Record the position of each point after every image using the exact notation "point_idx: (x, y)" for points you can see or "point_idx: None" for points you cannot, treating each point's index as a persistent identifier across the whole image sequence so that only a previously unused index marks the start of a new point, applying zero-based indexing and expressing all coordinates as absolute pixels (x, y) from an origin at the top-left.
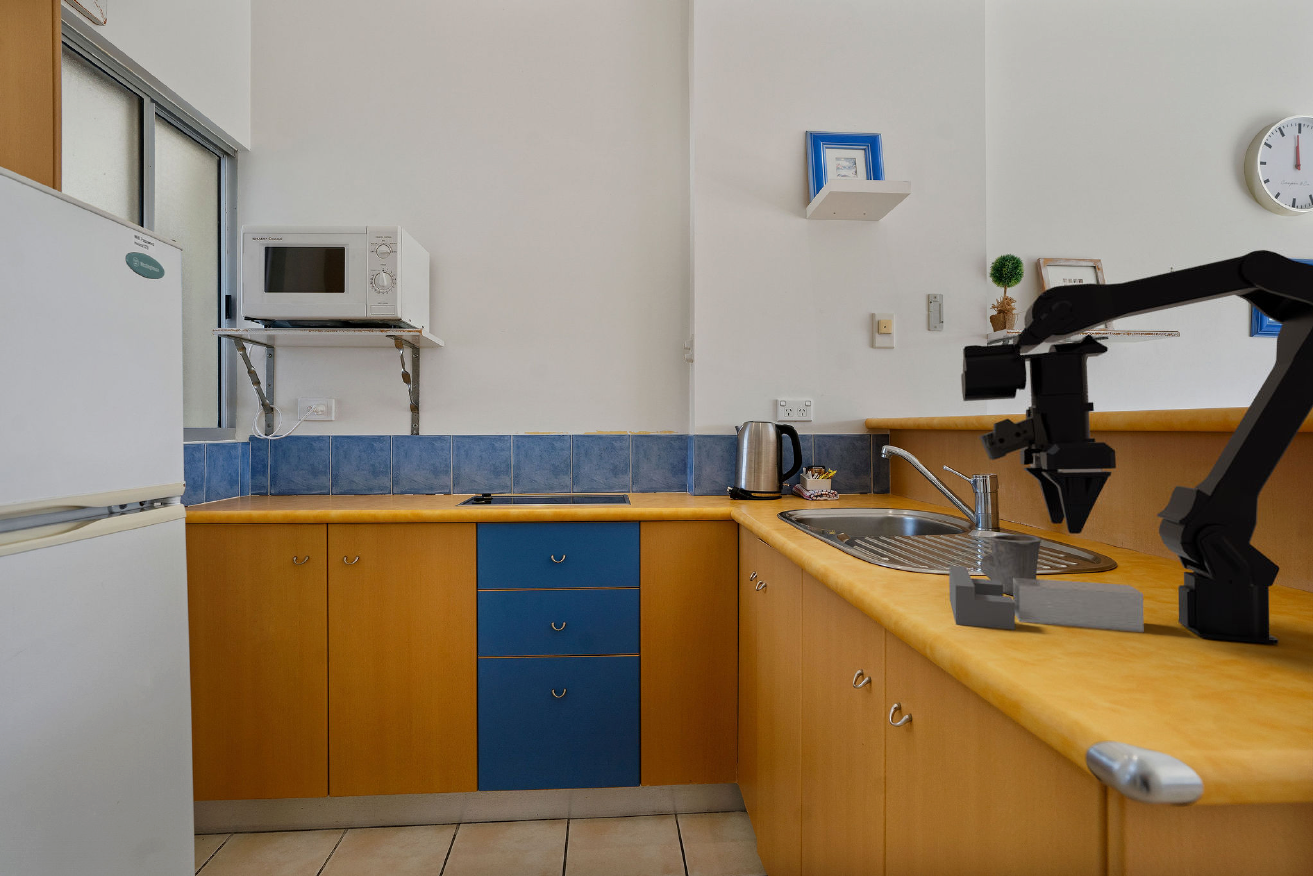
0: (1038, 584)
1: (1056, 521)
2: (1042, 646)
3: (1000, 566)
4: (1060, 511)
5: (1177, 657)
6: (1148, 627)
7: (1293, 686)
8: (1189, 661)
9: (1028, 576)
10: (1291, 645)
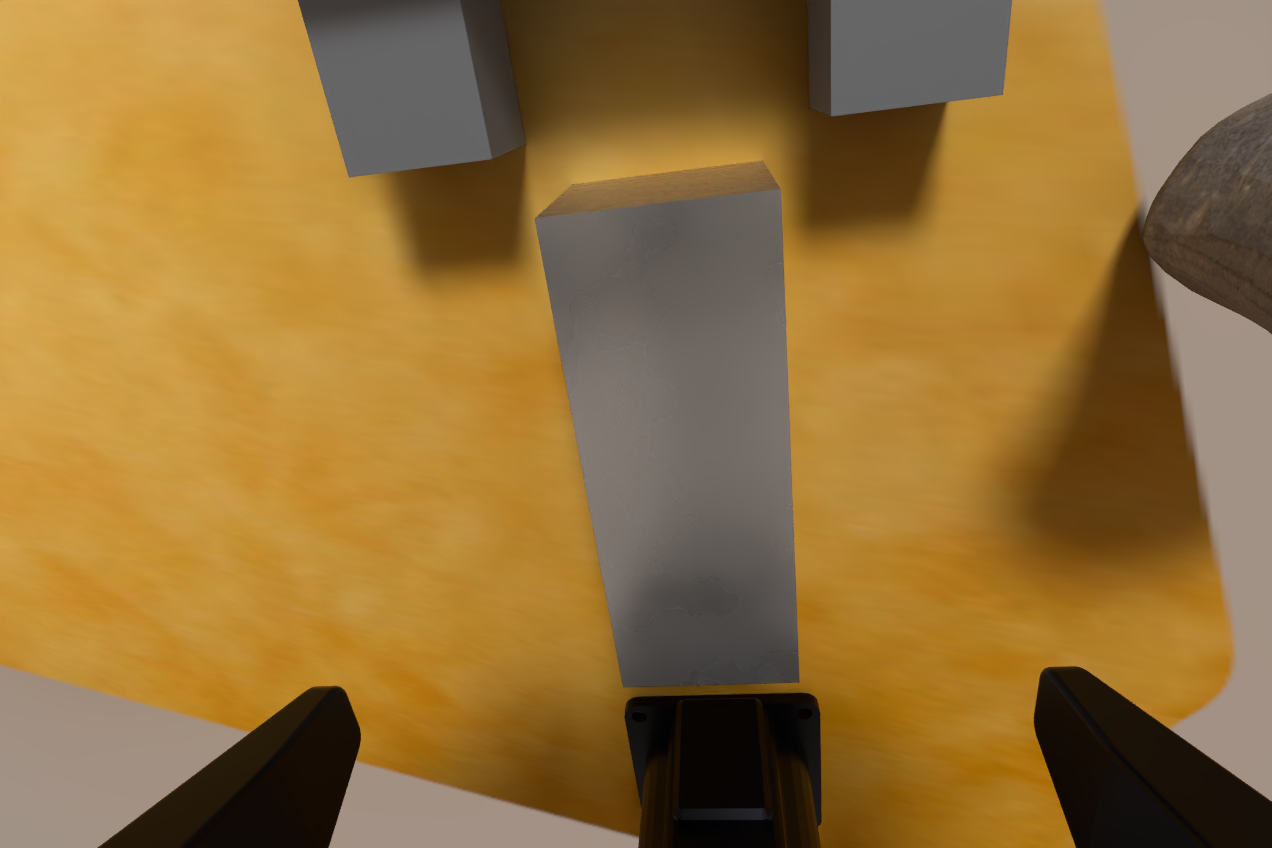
0: (617, 323)
1: (1042, 708)
2: (227, 255)
3: None
4: (1094, 836)
5: (380, 599)
6: None
7: None
8: (358, 615)
9: (1207, 283)
10: None
